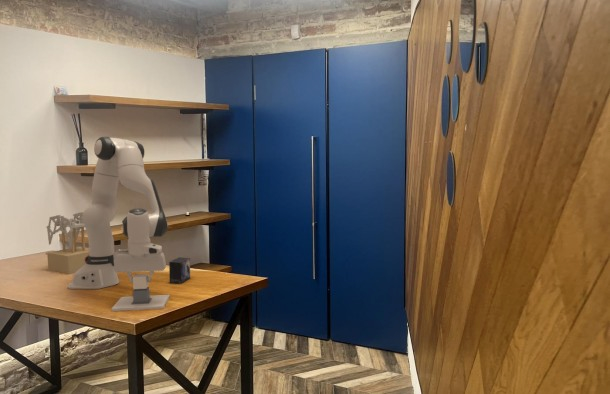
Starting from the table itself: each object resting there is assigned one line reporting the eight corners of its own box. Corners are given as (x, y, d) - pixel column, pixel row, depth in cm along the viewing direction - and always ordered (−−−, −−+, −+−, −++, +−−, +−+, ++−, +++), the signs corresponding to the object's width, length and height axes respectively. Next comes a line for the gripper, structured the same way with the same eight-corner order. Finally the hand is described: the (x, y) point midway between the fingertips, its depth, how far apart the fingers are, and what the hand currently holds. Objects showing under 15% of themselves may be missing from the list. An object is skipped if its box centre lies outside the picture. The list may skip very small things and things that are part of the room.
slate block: (133, 303, 200) (132, 291, 200) (136, 299, 205) (135, 287, 205) (147, 302, 201) (146, 290, 200) (149, 298, 206) (149, 286, 206)
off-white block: (133, 289, 200) (132, 277, 199) (136, 285, 205) (135, 274, 204) (146, 288, 200) (145, 276, 200) (148, 285, 205) (148, 273, 205)
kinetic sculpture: (104, 267, 269) (101, 213, 266) (70, 275, 252) (67, 217, 249) (77, 262, 282) (74, 210, 279) (43, 270, 265) (39, 214, 262)
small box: (181, 283, 233) (180, 262, 232) (169, 283, 235) (168, 261, 234) (191, 278, 244) (190, 257, 243) (179, 277, 245) (178, 257, 244)
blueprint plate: (111, 311, 194) (111, 308, 194) (121, 299, 210) (121, 296, 210) (163, 308, 196) (163, 305, 196) (169, 296, 212) (169, 294, 212)
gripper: (111, 251, 197) (112, 284, 198) (163, 249, 199) (164, 282, 200) (115, 248, 203) (116, 280, 204) (165, 246, 205) (167, 278, 207)
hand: (140, 281), depth 202 cm, fingers open, 5 cm apart
